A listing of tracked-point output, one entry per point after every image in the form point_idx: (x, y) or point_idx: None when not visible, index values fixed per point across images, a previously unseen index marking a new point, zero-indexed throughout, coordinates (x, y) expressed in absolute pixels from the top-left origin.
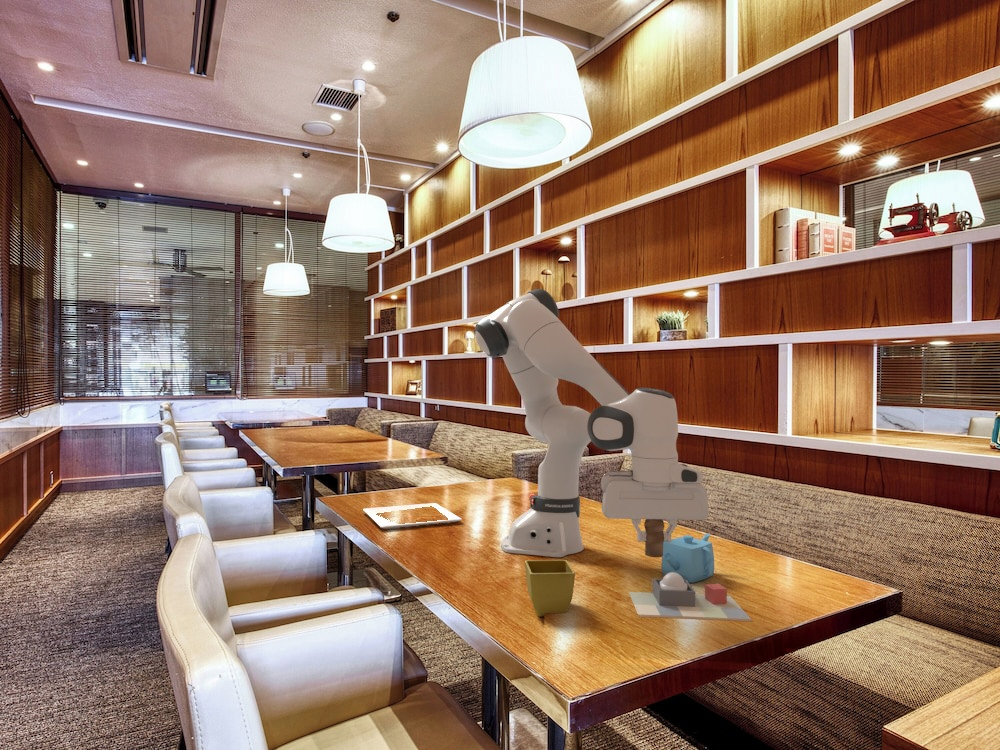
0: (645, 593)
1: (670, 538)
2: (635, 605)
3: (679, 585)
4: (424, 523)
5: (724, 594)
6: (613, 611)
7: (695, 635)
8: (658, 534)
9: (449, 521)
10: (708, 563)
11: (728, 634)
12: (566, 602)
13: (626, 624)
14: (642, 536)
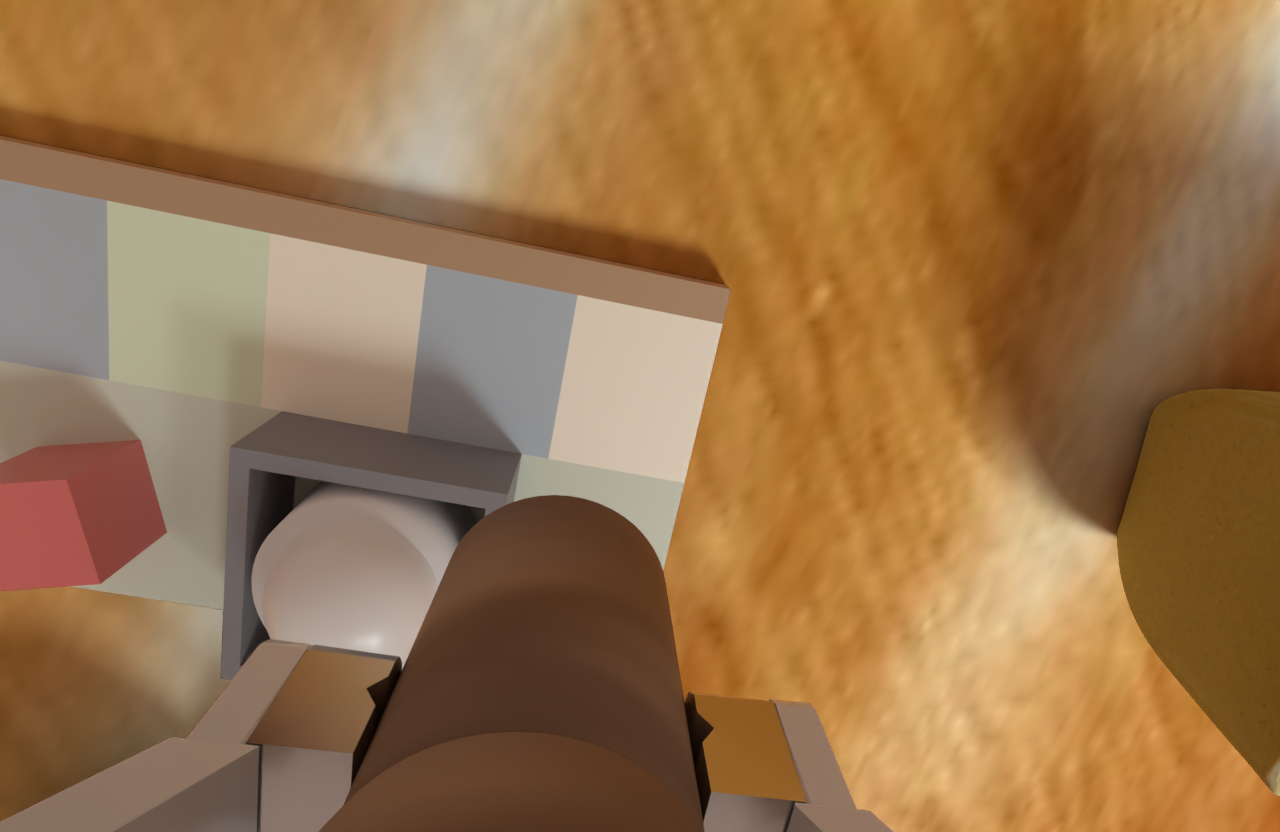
0: None
1: (253, 668)
2: (680, 466)
3: (328, 528)
4: None
5: (2, 470)
6: (818, 454)
7: (432, 32)
8: (498, 693)
9: None
10: None
11: (190, 21)
12: (1240, 389)
13: (820, 255)
14: (774, 753)
